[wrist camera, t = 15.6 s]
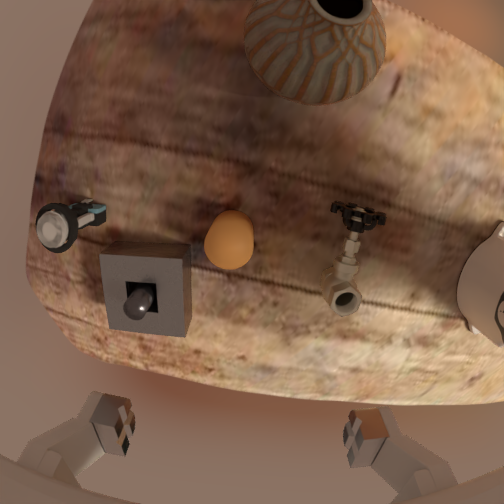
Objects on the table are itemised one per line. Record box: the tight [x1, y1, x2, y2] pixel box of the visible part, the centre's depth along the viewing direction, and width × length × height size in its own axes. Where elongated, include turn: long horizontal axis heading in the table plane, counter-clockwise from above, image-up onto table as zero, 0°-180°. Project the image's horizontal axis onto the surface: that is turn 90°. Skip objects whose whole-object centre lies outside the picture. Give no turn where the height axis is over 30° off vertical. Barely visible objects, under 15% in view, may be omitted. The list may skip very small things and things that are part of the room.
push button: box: [36, 199, 106, 253], centre depth 33 cm, size 7×5×10 cm
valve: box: [320, 201, 387, 317], centre depth 36 cm, size 7×7×12 cm
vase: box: [244, 0, 386, 106], centre depth 23 cm, size 13×13×18 cm
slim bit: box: [123, 282, 157, 320], centre depth 37 cm, size 3×3×8 cm
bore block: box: [99, 241, 192, 337], centre depth 38 cm, size 10×10×5 cm
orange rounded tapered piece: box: [204, 210, 254, 269], centre depth 36 cm, size 5×5×6 cm
